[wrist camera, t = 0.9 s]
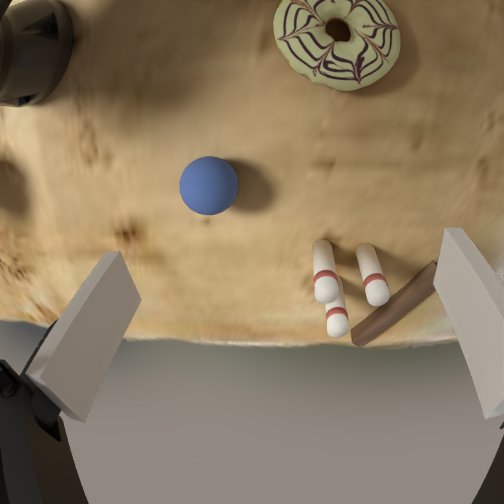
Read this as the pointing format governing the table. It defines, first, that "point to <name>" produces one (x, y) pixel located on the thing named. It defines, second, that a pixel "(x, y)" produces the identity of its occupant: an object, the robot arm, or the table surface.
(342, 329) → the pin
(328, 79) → the decorated donut
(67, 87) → the table surface
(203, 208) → the ball
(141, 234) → the table surface
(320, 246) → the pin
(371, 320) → the rail
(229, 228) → the table surface
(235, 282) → the table surface
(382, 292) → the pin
